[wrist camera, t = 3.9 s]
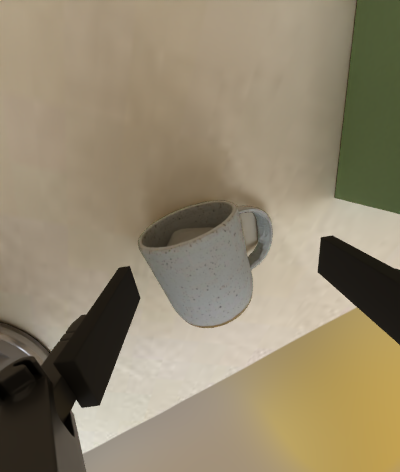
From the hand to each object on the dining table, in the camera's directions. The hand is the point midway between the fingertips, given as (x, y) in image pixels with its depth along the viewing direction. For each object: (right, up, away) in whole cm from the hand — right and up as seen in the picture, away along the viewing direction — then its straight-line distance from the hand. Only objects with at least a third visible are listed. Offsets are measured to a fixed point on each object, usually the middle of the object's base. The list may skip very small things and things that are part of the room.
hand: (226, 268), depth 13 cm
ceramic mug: (-1, +2, +6) cm, 6 cm away
